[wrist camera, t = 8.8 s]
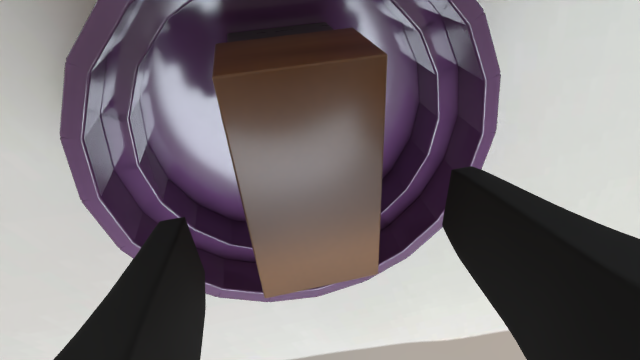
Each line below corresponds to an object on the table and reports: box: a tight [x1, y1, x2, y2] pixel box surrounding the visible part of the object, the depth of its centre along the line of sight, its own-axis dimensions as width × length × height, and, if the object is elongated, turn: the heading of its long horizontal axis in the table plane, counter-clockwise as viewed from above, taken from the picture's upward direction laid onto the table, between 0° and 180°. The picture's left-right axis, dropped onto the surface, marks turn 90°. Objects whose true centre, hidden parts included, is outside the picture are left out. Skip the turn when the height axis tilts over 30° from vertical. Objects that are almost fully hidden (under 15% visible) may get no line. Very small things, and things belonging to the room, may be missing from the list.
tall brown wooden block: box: [212, 22, 388, 298], centre depth 13 cm, size 8×4×6 cm, turn 4°
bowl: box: [60, 0, 501, 302], centre depth 14 cm, size 14×14×4 cm
